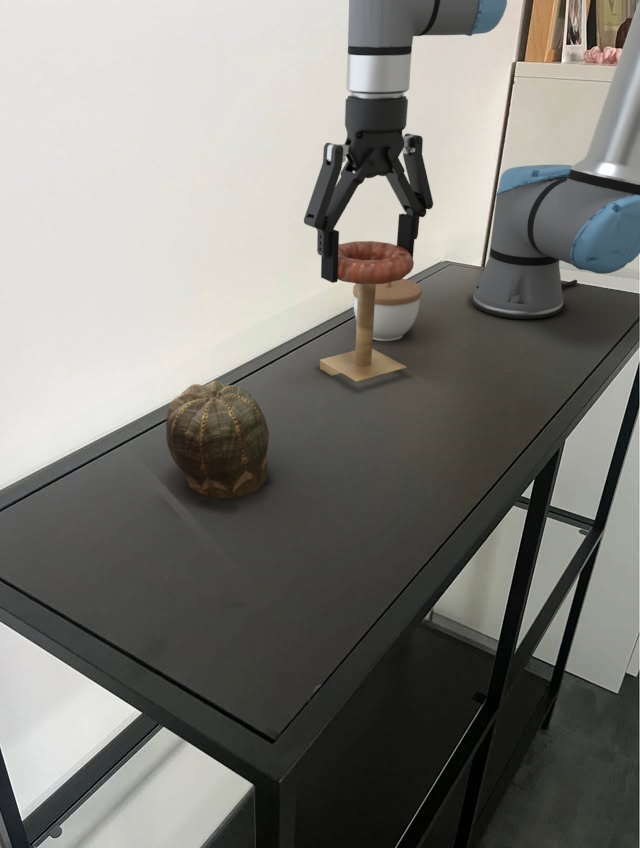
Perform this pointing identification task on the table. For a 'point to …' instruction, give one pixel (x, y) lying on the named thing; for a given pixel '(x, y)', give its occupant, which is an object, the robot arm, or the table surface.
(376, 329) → the trinket box
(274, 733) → the table surface
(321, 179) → the robot arm
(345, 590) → the table surface
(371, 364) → the stand
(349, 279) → the ring
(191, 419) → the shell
